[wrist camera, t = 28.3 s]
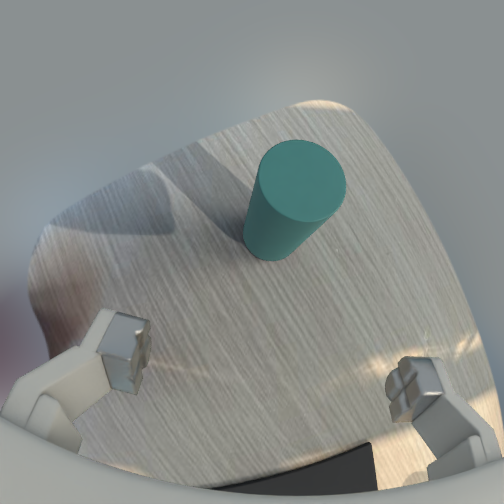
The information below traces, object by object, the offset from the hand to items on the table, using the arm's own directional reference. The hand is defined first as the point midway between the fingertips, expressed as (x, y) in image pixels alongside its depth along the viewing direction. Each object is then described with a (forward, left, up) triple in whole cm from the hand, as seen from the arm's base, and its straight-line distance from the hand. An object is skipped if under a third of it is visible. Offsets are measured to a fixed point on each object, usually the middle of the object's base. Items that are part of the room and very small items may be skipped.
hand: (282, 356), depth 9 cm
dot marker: (+3, +6, -11) cm, 13 cm away
